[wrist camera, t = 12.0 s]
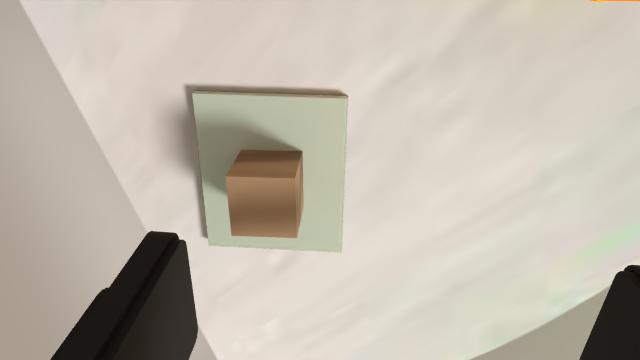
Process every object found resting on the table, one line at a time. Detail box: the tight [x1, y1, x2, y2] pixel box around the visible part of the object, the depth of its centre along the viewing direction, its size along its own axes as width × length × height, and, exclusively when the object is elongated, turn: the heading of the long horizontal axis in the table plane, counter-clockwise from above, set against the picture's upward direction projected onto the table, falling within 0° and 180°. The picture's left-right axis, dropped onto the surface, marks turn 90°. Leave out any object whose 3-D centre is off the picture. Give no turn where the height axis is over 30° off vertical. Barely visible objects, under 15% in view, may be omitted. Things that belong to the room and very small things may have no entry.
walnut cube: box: [225, 150, 304, 238], centre depth 36 cm, size 5×5×5 cm
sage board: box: [192, 91, 348, 253], centre depth 39 cm, size 14×12×1 cm
